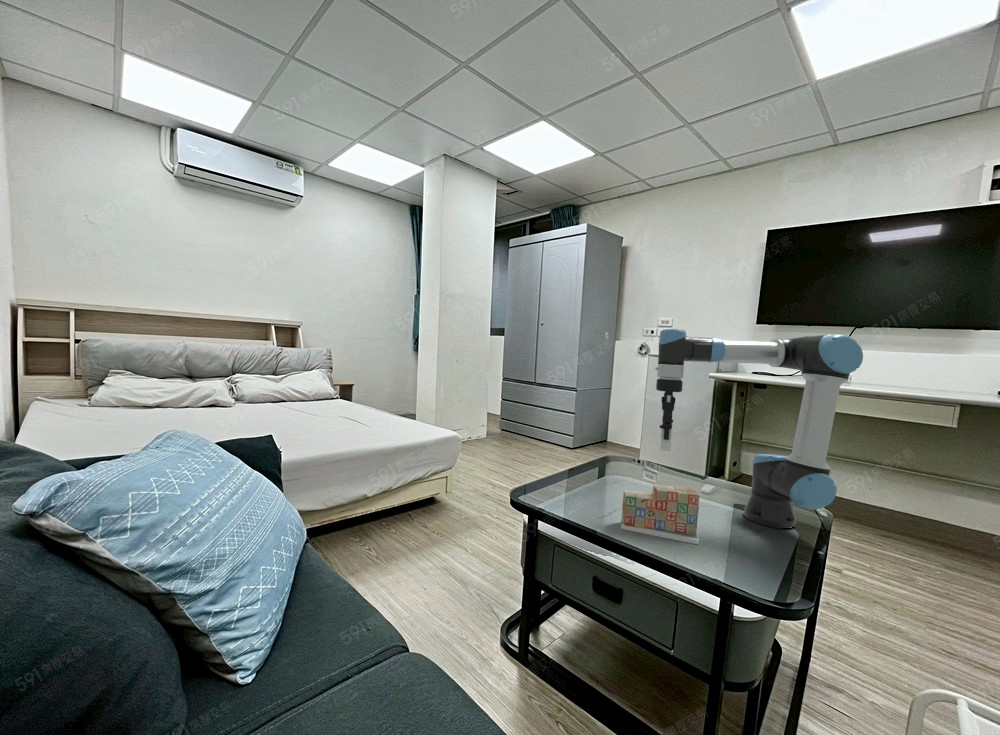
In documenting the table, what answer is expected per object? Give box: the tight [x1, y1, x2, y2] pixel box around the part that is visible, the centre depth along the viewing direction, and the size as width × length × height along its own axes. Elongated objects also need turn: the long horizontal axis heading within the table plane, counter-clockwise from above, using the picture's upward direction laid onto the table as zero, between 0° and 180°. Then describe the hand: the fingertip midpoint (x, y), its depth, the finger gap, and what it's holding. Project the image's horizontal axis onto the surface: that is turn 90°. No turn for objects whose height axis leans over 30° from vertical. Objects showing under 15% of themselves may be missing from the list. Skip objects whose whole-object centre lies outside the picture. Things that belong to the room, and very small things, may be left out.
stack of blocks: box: [621, 484, 700, 535], centre depth 127 cm, size 21×6×12 cm, turn 79°
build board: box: [620, 519, 700, 545], centre depth 127 cm, size 22×10×1 cm, turn 67°
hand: (665, 446), depth 127 cm, fingers open, 13 cm apart
